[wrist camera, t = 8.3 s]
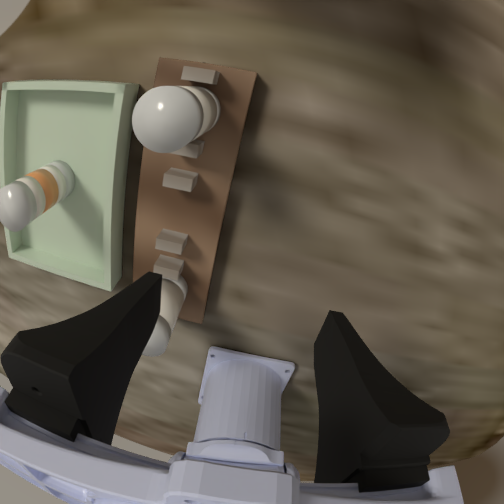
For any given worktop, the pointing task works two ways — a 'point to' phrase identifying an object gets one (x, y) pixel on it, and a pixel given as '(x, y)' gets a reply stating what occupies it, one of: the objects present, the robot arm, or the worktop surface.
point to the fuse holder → (191, 185)
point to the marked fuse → (35, 194)
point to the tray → (82, 164)
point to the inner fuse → (167, 315)
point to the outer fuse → (174, 116)
